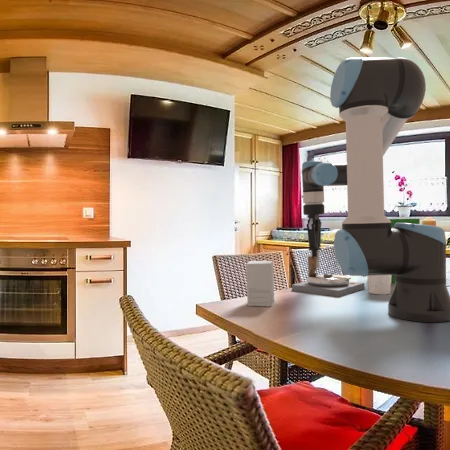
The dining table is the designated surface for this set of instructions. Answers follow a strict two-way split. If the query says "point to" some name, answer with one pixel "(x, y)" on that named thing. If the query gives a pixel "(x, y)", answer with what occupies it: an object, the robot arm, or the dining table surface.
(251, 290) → the supplement box
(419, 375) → the dining table surface
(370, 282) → the white cup
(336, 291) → the dial base
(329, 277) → the capstan dial
